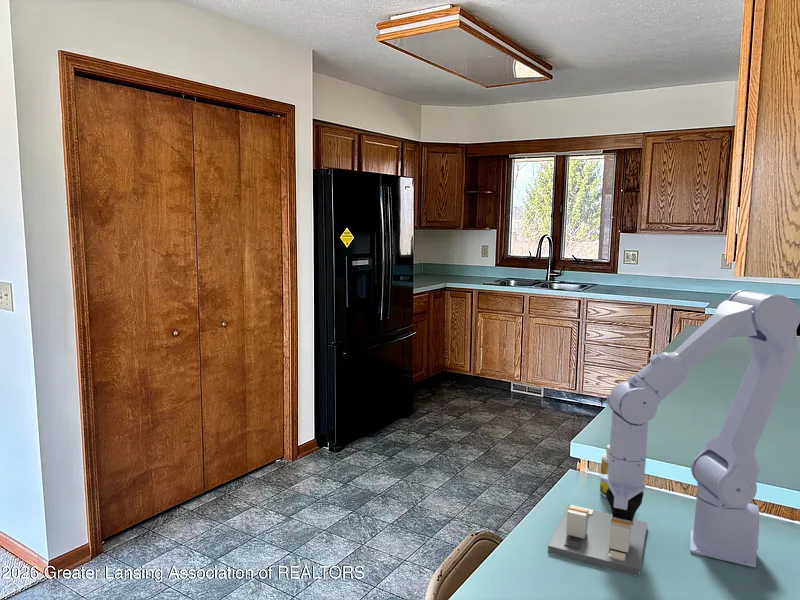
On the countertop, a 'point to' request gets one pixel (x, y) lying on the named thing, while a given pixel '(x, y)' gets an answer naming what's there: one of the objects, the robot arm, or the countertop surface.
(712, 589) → the countertop surface
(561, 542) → the switch unit
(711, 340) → the robot arm
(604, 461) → the supplement bottle
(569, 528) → the toggle
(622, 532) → the toggle
